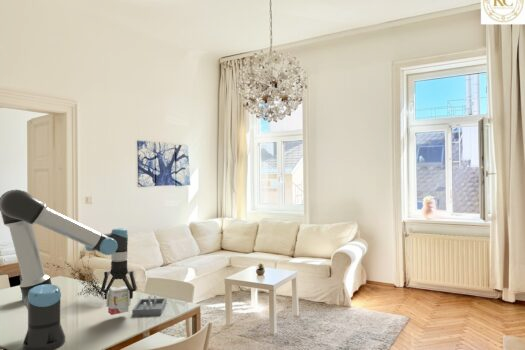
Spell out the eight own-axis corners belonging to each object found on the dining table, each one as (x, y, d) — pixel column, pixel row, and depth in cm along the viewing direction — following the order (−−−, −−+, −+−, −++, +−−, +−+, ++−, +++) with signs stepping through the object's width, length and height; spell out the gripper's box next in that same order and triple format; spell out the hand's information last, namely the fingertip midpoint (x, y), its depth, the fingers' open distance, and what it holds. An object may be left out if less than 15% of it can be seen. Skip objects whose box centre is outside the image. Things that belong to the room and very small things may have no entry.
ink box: (111, 315, 186) (111, 290, 186) (108, 312, 190) (108, 288, 190) (128, 311, 191) (129, 287, 191) (125, 309, 195) (125, 285, 195)
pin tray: (161, 314, 194) (161, 303, 194) (132, 316, 192) (132, 304, 192) (166, 303, 211) (166, 293, 212) (140, 304, 210) (140, 294, 210)
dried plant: (131, 270, 215) (92, 231, 240) (75, 287, 191) (38, 242, 216) (123, 314, 224) (86, 272, 249) (68, 335, 200) (33, 287, 225)
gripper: (143, 258, 196) (143, 302, 195) (98, 258, 194) (98, 303, 193) (140, 261, 188) (139, 307, 188) (93, 261, 186) (92, 308, 186)
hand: (118, 305), depth 190 cm, fingers closed on ink box, 9 cm apart
